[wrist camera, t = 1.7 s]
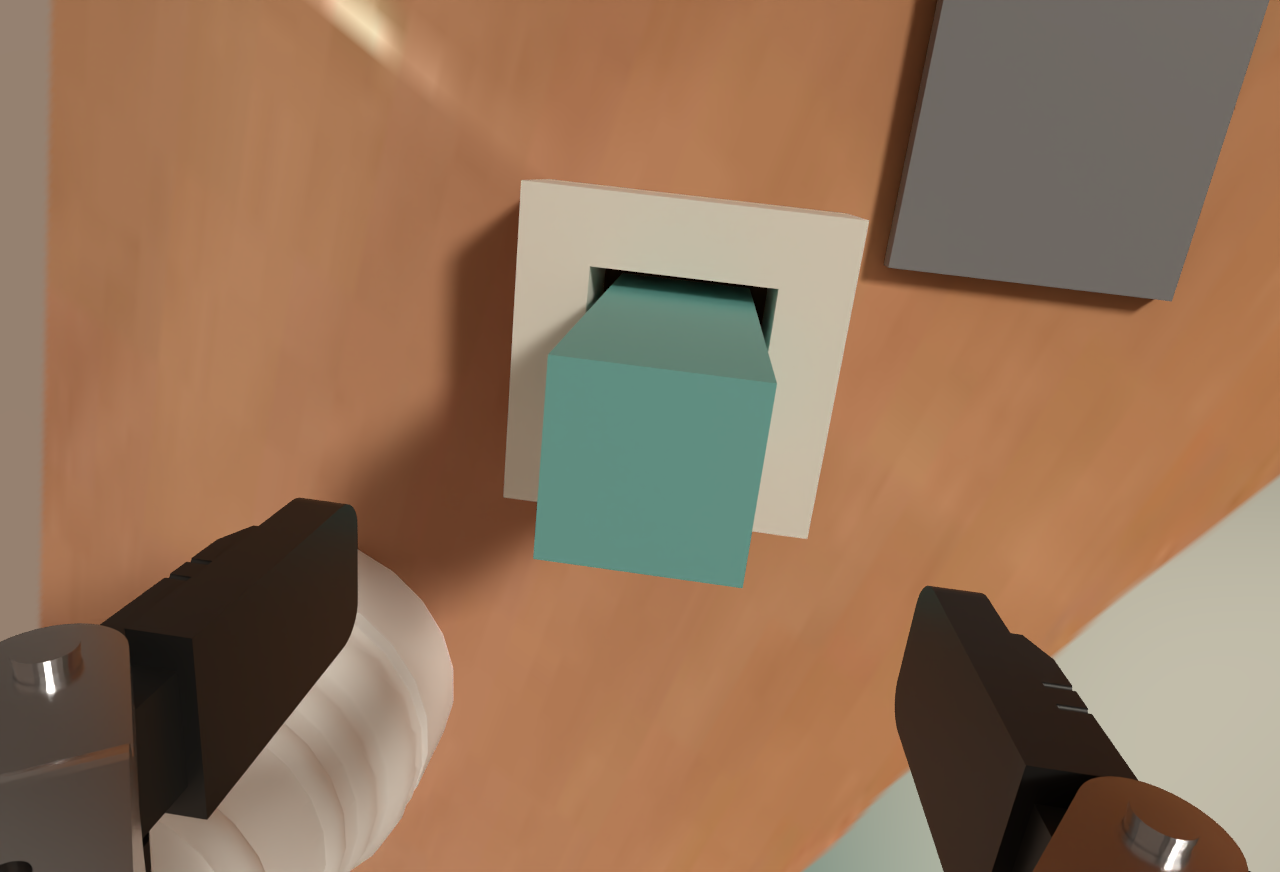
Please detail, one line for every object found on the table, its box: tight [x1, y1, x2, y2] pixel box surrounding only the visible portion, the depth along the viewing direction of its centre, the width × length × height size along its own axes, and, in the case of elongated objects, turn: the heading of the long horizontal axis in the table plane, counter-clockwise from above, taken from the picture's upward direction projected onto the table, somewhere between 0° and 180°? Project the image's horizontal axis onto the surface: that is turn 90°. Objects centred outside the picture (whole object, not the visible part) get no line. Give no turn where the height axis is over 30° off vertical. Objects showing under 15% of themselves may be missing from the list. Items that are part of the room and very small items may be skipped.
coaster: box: [884, 0, 1269, 301], centre depth 25 cm, size 9×9×1 cm
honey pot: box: [150, 550, 453, 872], centre depth 26 cm, size 13×13×18 cm
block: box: [533, 273, 777, 588], centre depth 22 cm, size 4×4×13 cm
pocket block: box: [503, 179, 869, 539], centre depth 26 cm, size 10×10×4 cm
